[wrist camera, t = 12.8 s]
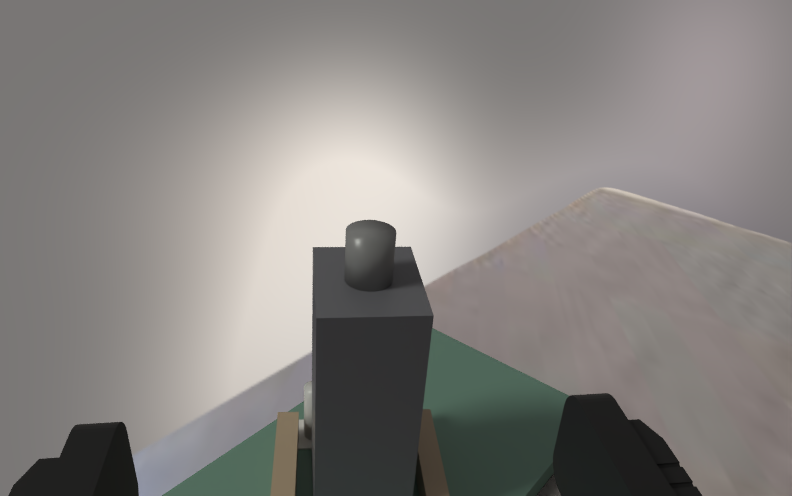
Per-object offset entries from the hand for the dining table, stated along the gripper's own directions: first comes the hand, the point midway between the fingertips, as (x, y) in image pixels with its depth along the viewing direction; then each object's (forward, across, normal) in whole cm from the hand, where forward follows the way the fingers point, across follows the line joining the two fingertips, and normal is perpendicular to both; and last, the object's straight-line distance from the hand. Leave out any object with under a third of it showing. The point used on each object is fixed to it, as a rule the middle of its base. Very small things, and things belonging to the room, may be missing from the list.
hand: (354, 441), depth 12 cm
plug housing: (+12, -1, +14) cm, 19 cm away
